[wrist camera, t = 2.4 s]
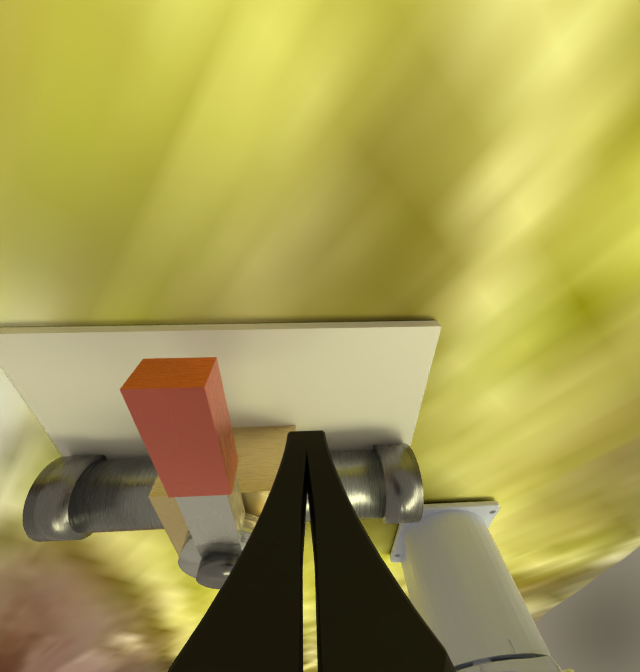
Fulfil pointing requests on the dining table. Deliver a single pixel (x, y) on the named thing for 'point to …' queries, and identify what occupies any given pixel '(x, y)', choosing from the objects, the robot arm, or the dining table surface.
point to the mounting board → (228, 378)
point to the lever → (193, 458)
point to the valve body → (253, 477)
